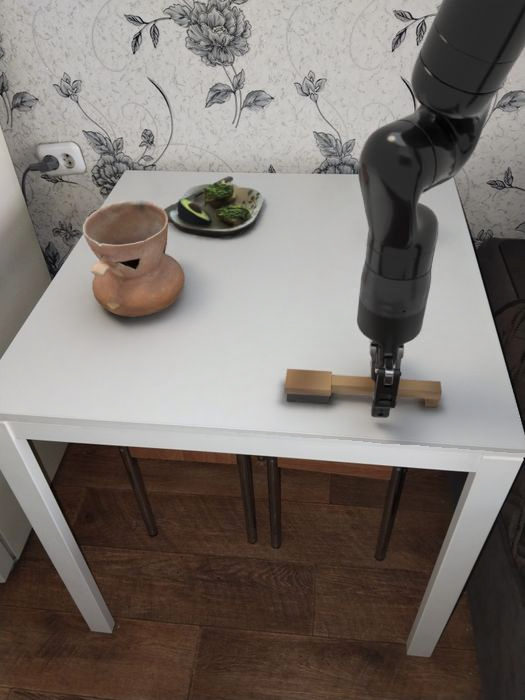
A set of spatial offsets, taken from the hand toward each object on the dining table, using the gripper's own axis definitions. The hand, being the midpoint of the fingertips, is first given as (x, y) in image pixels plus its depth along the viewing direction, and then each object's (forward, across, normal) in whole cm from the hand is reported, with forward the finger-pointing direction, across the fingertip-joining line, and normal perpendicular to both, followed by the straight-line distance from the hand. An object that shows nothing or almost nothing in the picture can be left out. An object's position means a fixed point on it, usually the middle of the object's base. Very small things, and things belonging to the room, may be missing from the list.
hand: (378, 390), depth 77 cm
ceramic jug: (+2, +19, +37) cm, 42 cm away
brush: (+2, 0, +2) cm, 3 cm away
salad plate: (+2, +44, +30) cm, 53 cm away
